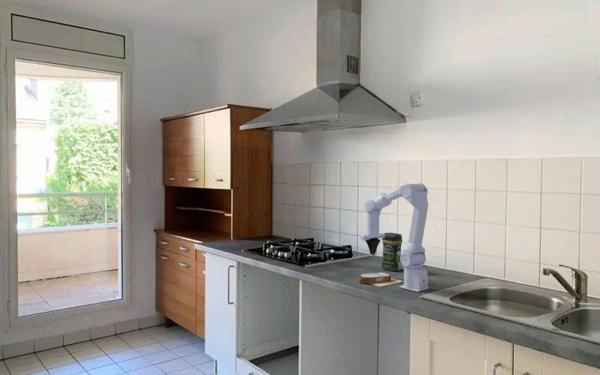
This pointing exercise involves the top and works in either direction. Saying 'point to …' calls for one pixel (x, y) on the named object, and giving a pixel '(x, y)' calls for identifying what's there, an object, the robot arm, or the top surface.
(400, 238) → the coffee jar
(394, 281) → the birch board
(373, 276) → the orange-brown flat oval
